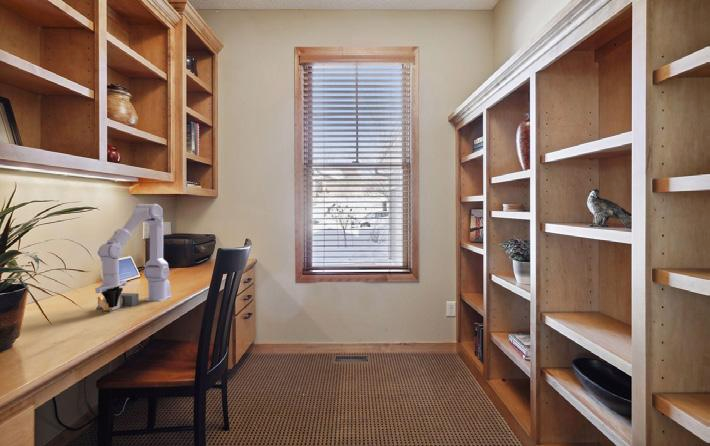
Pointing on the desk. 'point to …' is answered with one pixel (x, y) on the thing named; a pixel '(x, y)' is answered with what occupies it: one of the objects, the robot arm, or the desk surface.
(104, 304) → the orange long bar
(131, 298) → the socket block
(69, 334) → the desk surface
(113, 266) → the robot arm
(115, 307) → the plug
